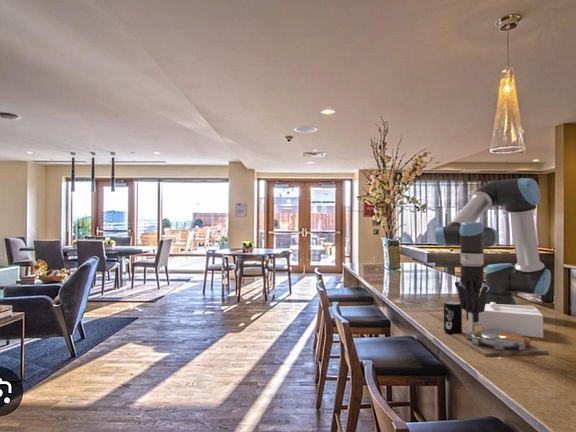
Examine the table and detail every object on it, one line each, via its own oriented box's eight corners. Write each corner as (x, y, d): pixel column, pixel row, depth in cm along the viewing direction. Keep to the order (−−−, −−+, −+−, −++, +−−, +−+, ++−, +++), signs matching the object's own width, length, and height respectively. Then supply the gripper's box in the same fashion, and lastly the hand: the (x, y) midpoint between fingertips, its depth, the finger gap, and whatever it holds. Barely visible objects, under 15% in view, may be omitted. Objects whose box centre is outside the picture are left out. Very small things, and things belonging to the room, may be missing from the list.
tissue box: (468, 322, 166) (468, 297, 167) (535, 328, 156) (535, 301, 156) (469, 330, 153) (469, 303, 153) (543, 338, 143) (542, 309, 143)
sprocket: (505, 332, 146) (504, 316, 146) (544, 349, 126) (544, 331, 126) (455, 333, 145) (454, 317, 145) (486, 351, 125) (486, 333, 125)
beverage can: (463, 335, 146) (463, 304, 146) (445, 334, 148) (445, 303, 148) (459, 330, 153) (459, 300, 153) (442, 329, 154) (442, 300, 154)
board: (507, 335, 147) (507, 331, 147) (548, 353, 126) (548, 350, 126) (452, 336, 145) (452, 333, 145) (484, 356, 124) (484, 352, 124)
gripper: (449, 263, 141) (450, 327, 140) (482, 267, 129) (483, 336, 129) (462, 262, 144) (463, 324, 144) (495, 266, 133) (496, 333, 133)
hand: (472, 330), depth 136 cm, fingers closed
